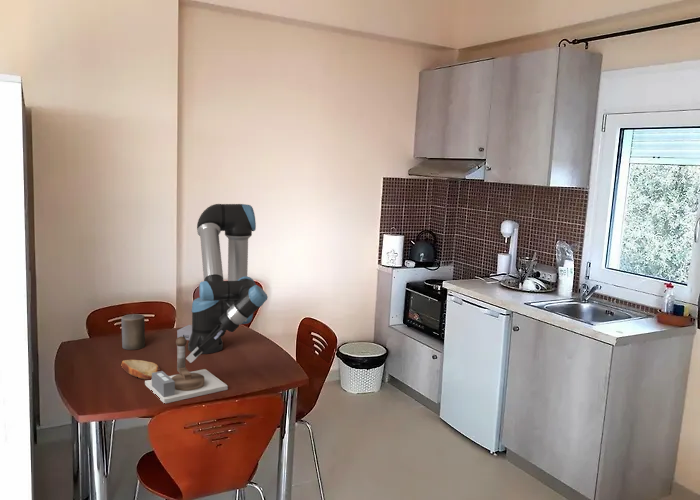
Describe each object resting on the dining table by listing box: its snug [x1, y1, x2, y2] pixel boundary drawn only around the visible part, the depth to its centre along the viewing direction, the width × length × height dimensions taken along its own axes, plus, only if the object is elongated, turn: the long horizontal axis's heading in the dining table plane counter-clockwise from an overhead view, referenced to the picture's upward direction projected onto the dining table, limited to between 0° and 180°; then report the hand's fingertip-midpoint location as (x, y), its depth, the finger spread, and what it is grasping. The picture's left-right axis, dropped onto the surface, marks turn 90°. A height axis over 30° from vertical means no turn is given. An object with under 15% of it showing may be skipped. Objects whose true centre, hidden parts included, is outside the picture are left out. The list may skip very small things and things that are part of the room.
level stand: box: [144, 368, 229, 404], centre depth 224 cm, size 20×24×7 cm
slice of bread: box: [120, 359, 161, 380], centre depth 238 cm, size 18×18×4 cm
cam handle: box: [171, 337, 204, 390], centre depth 224 cm, size 17×12×16 cm
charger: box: [176, 324, 192, 341], centre depth 285 cm, size 5×9×15 cm
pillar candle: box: [120, 313, 146, 351], centre depth 265 cm, size 10×10×15 cm
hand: (188, 360), depth 230 cm, fingers closed
